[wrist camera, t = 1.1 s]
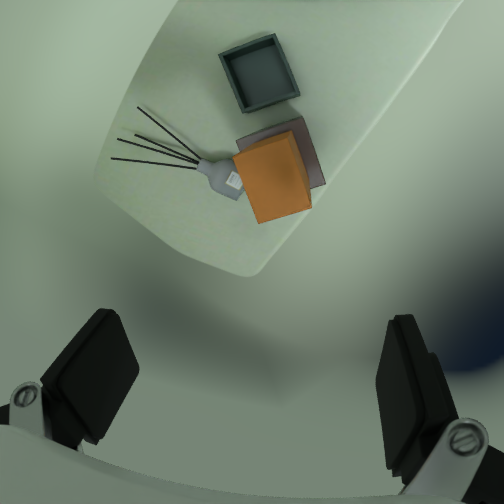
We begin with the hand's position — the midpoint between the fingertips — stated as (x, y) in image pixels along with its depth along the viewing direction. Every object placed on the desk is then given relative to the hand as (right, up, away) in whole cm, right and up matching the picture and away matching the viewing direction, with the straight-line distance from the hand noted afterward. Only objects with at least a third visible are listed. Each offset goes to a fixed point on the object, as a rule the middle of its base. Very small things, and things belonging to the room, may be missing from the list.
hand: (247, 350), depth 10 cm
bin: (+2, +27, +27) cm, 38 cm away
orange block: (+3, +11, +15) cm, 19 cm away
